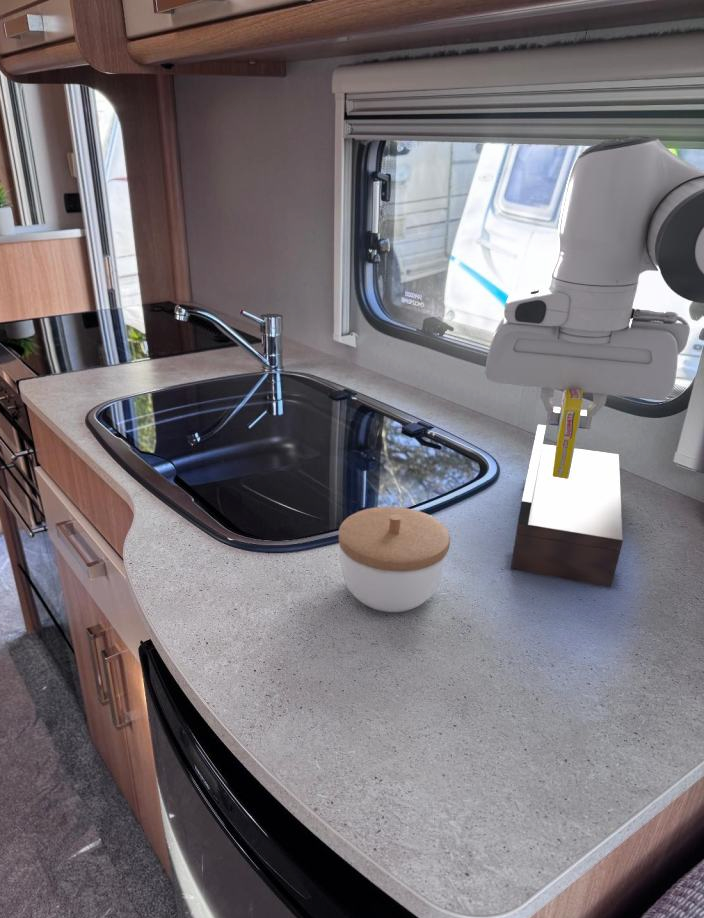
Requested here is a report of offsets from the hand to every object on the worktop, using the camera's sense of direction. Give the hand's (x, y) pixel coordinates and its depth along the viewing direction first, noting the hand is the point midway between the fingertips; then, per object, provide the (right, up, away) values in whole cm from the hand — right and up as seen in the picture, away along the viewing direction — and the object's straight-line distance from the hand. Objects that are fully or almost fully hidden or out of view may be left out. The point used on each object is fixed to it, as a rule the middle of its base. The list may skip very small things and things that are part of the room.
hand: (567, 425), depth 85 cm
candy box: (0, -3, +2) cm, 3 cm away
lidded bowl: (-21, -21, +2) cm, 29 cm away
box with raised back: (+5, -13, +16) cm, 21 cm away
